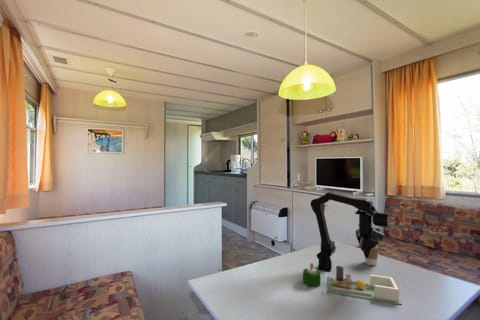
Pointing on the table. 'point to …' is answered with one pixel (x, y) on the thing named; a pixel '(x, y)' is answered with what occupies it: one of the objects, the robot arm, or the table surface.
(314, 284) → the candle
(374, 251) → the coffee cup
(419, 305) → the table surface
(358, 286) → the ball
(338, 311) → the table surface
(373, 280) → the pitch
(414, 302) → the table surface
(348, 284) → the kicker
